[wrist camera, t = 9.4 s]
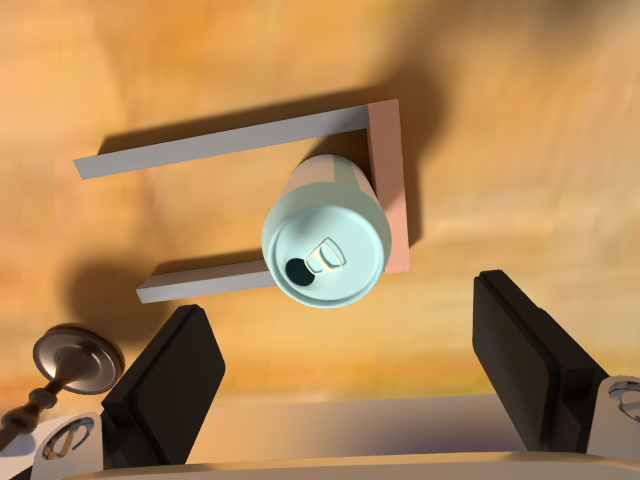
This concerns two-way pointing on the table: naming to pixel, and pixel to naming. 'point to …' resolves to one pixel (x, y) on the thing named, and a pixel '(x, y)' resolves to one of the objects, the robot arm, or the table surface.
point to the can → (326, 234)
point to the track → (373, 117)
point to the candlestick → (64, 375)
